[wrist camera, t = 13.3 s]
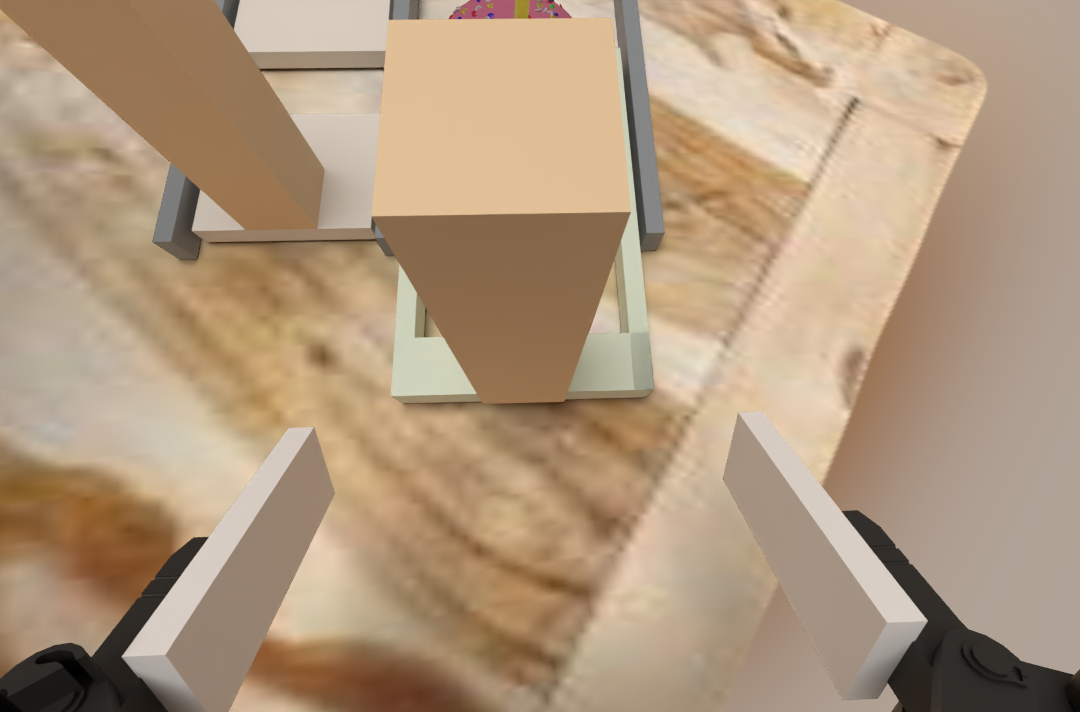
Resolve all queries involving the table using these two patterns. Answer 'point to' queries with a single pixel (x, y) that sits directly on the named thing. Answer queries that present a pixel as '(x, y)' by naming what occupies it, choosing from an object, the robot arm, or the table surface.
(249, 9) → the broken strip
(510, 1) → the cupcake
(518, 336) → the pale green frame
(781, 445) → the robot arm
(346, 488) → the table surface
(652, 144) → the board
